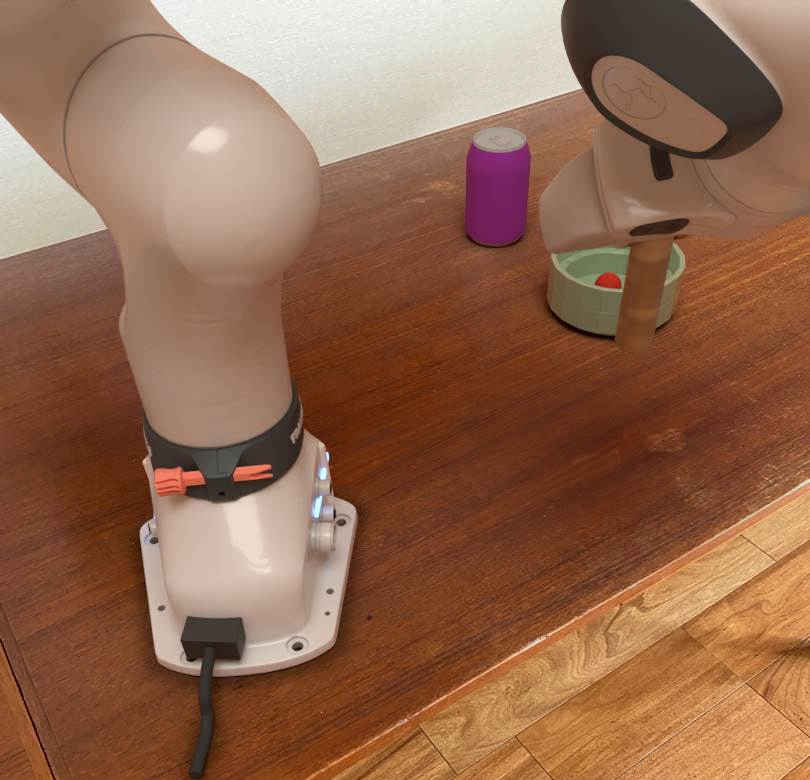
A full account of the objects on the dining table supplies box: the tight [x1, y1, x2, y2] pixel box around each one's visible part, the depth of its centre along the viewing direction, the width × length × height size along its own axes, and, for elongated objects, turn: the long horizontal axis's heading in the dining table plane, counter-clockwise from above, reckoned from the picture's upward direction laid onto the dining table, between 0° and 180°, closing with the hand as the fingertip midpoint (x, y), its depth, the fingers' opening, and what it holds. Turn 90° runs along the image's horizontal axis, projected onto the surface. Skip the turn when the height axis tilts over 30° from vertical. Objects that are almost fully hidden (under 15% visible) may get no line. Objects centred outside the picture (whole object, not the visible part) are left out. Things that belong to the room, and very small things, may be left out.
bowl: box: [546, 241, 686, 337], centre depth 96 cm, size 14×14×6 cm
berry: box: [594, 273, 622, 289], centre depth 96 cm, size 3×3×3 cm
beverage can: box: [464, 126, 532, 248], centre depth 105 cm, size 8×8×12 cm
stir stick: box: [614, 236, 675, 353], centre depth 64 cm, size 3×3×16 cm
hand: (649, 233), depth 64 cm, fingers closed on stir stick, 3 cm apart
